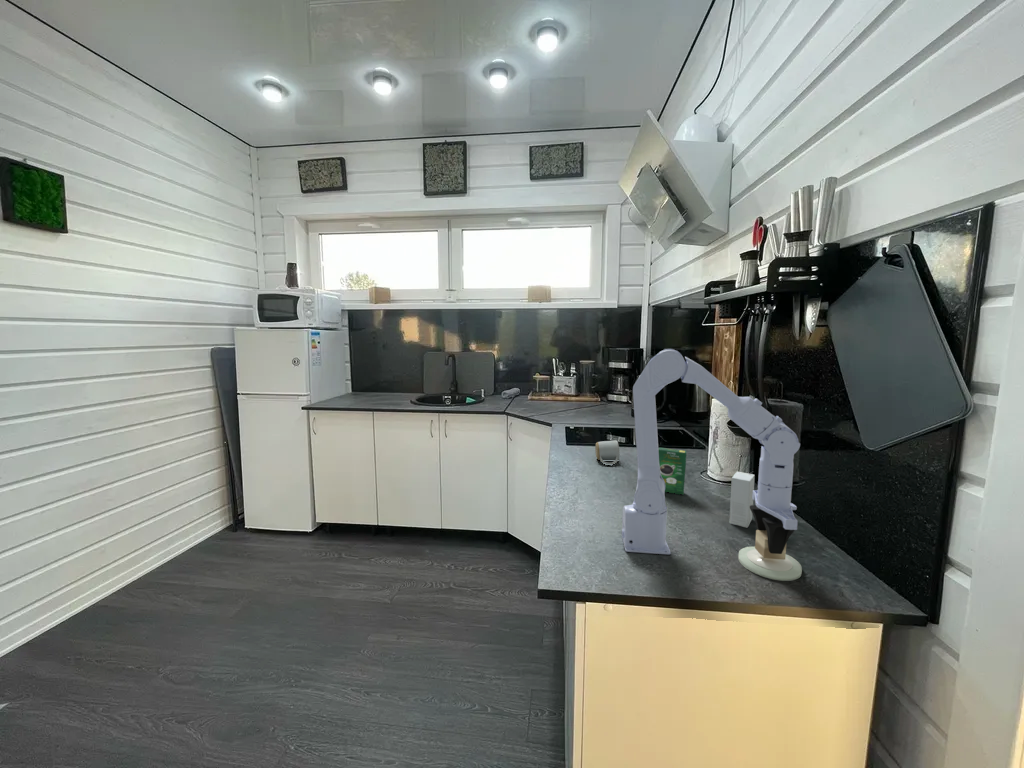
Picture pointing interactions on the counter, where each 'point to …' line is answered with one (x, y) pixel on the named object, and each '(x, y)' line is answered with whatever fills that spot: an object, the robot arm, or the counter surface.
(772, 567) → the dish
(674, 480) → the coffee box
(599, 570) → the counter surface
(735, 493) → the skincare box
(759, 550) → the block
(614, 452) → the ceramic mug
